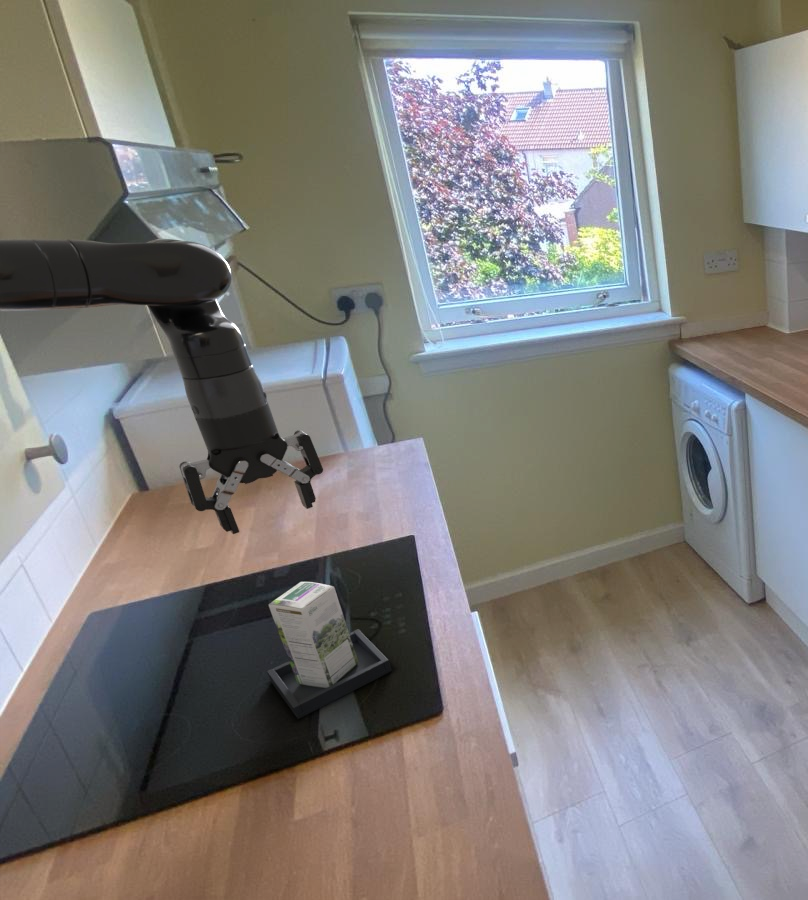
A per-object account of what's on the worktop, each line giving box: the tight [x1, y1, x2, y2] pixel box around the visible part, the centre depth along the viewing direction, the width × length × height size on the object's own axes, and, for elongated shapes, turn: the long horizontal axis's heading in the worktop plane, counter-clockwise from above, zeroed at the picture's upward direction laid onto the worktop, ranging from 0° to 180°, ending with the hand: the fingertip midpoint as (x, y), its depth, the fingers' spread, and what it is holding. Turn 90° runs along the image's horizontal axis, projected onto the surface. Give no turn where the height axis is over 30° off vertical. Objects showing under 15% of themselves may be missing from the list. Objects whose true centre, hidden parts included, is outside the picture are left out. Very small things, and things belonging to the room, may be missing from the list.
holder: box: [266, 628, 393, 720], centre depth 109 cm, size 13×12×2 cm
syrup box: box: [268, 581, 358, 688], centre depth 106 cm, size 6×6×14 cm
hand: (272, 518), depth 98 cm, fingers open, 8 cm apart
